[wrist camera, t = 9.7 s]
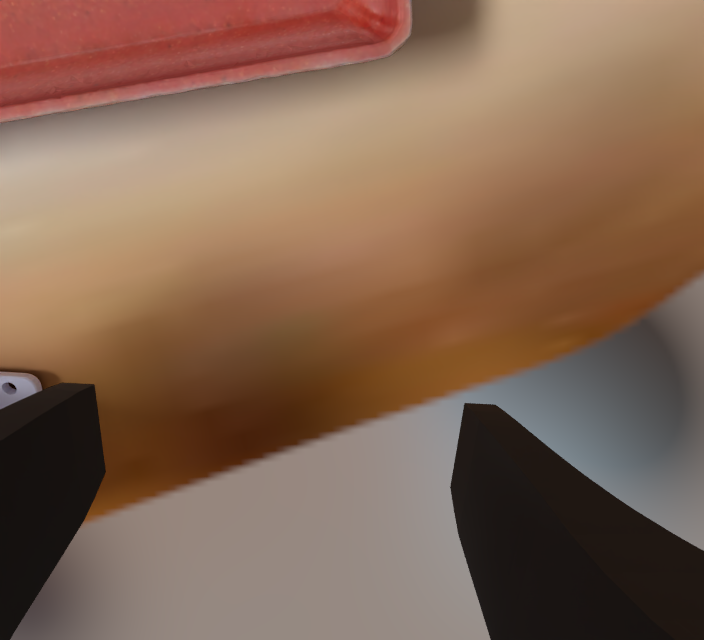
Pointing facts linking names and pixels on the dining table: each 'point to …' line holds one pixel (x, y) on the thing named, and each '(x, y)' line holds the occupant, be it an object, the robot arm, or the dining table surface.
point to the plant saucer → (177, 46)
